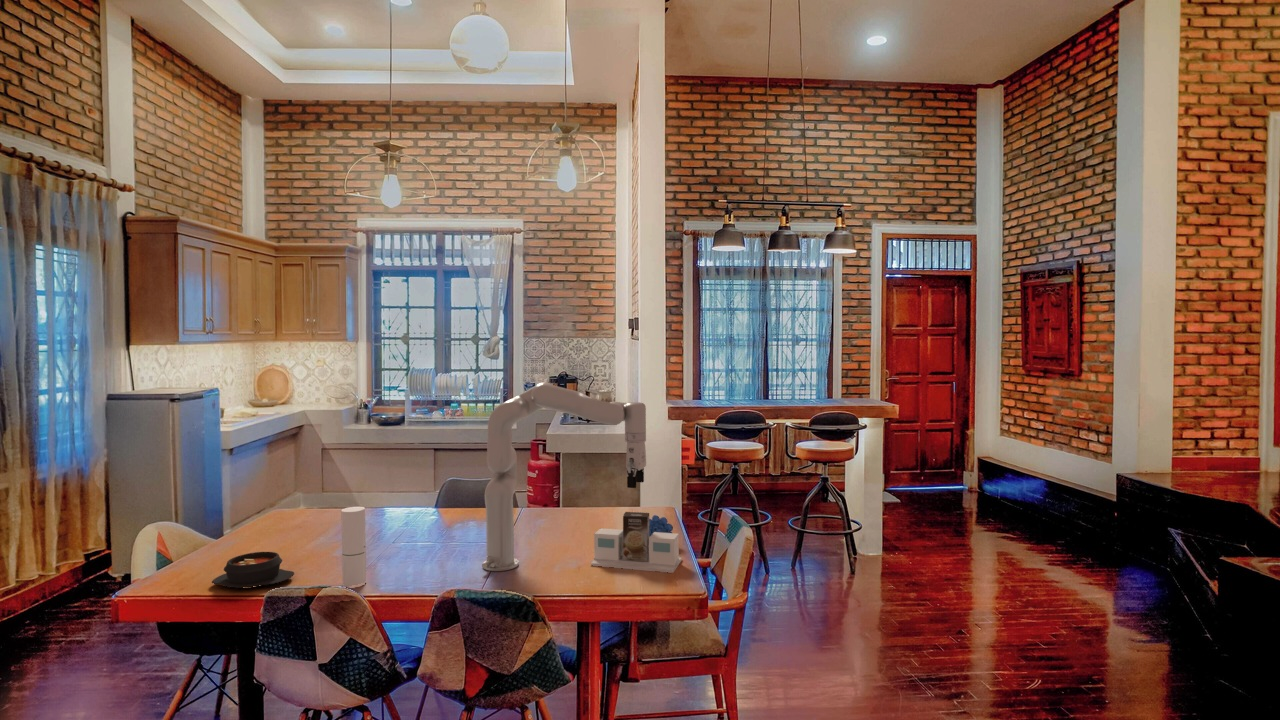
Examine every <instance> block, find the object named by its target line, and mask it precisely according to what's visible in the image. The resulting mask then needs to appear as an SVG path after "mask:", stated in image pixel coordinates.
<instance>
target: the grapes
mask: <svg viewBox="0 0 1280 720" xmlns="http://www.w3.org/2000/svg"><path fill="white" fill-rule="evenodd" d="M673 529H674V526H673V524H671V523H670V522H669V523H668V518H666V517H664V516H661V517H659V516H658V515H656V514H654V515H652V517H651V518H649V537H650V536H651V535H652V534H653V533H654V532H660V533H673V532H672V531H673Z"/></svg>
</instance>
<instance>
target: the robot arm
mask: <svg viewBox="0 0 1280 720" xmlns="http://www.w3.org/2000/svg"><path fill="white" fill-rule="evenodd" d="M541 409H548V410H551V411H556V412H559V413H560V412H561V413H564V414H569V415H573V416H575V417H577V418H583V419H586V420H590V421H592V422H597V423H601V424H603V425H609V426H617V425H619V424H621V423H622V422H624V442H625V443H626V456H625V457H626V458H625V460H626V461H625V463H626V464H625V465H626V481H627V483H626V488H628V489H629V488H630V489H636V488H637V483H644V481H645V467H646V466H647V453H646V452H647V451H646V442H647V424H646V423H647V420H646V419H647V418H646V417H647V413H646V411H647V410H646V409H647V408H646V404H645V403H644V402H638V401H634V402H633V401H632V402H620V401H610V402H608V401H604V400H600V399H598V398H597V399H596V398H593V397H590V396H589V395H586V394H585V393H583V392H580V391H579V390H574V389H570V388H566V387H562V386H559V385H558V386H557V385H553V384H552V383H551V382H547V381H542V382H539V383H537V384H536V385H534V386H533V387H531V388H530V389H528V390H526V391H524V392H522V393H520V394H517V396H514V397H512V398H509V399H508V400H506V401H504V402H502V403H501V404H499V405H498V406H496V407H495V408H494V409H493V411H492V412H491V414H490V415H489V417H488V422H487V438H486V439H487V440H486V441H487V442H486V445H487V446H486V448H487V449H486V464H487V467H488V469H489V470H490V480H489V481H488V483H487V485H486V487H485V489H484V490H485V491H484V504H485V516H486V517H485V521H486V522H485V523H486V525H485V527H486V560H485V561H483V562H482V564H481V567H482V569H484V570H486V571H489V572H505V571H510V570H513V569H515V568H517V567H519V563H520V561H519V560H518V559H517V558H515V533H514V532H515V528H514V526H515V523H514V522H515V520H514V502H513V497H514V494H515V492H516V490H517V486H518V456H517V452H516V449H515V448H514V447H513V433H512V431H513V430H512V429H513V426H514V424H516V423H519V422H521V421H522V420H524V419H526V418H527V417H528V416H531V415H533V414H534V413H536V412H538V411H539V410H541Z"/></svg>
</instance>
